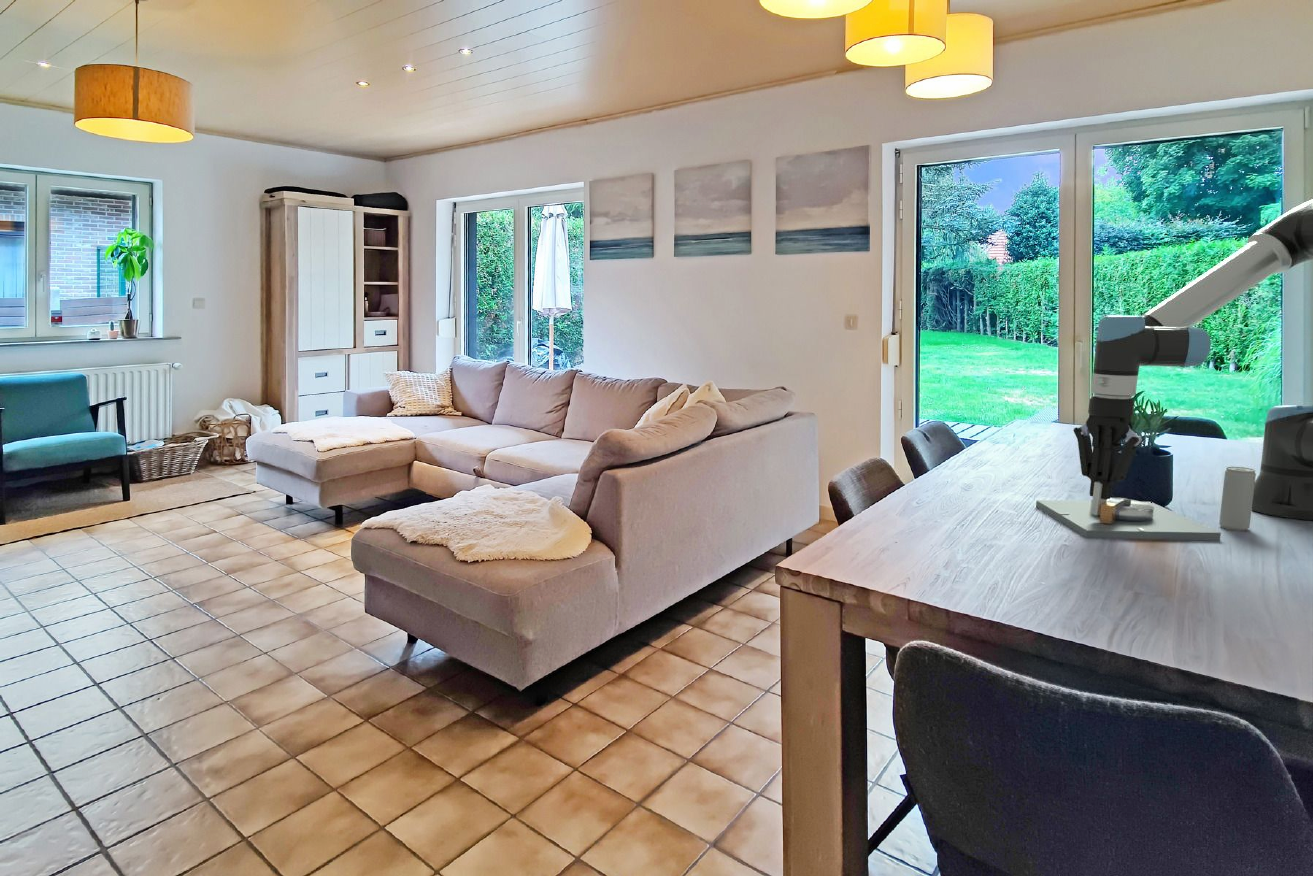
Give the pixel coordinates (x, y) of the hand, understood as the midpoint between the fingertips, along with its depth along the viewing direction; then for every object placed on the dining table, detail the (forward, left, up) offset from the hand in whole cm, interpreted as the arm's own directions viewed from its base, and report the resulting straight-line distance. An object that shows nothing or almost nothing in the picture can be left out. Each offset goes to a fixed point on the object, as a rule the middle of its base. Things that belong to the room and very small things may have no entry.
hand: (1098, 513), depth 150 cm
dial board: (-7, -5, -3) cm, 9 cm away
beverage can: (-27, -2, -3) cm, 27 cm away
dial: (-5, -3, -1) cm, 6 cm away
